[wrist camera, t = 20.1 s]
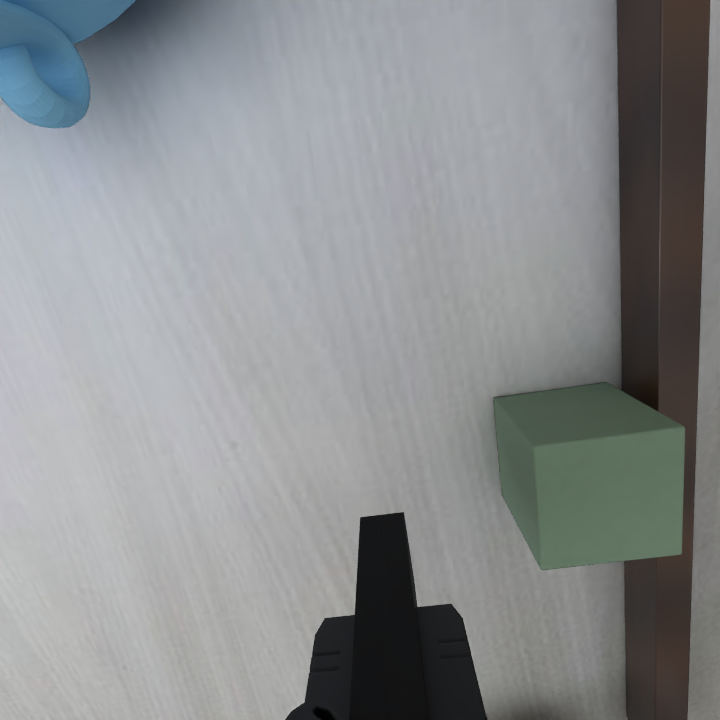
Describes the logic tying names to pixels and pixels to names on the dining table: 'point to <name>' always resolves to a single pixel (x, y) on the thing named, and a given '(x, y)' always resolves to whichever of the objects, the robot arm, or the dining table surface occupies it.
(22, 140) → the dining table surface
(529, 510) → the sage block
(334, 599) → the dining table surface
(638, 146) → the rail
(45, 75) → the teapot
